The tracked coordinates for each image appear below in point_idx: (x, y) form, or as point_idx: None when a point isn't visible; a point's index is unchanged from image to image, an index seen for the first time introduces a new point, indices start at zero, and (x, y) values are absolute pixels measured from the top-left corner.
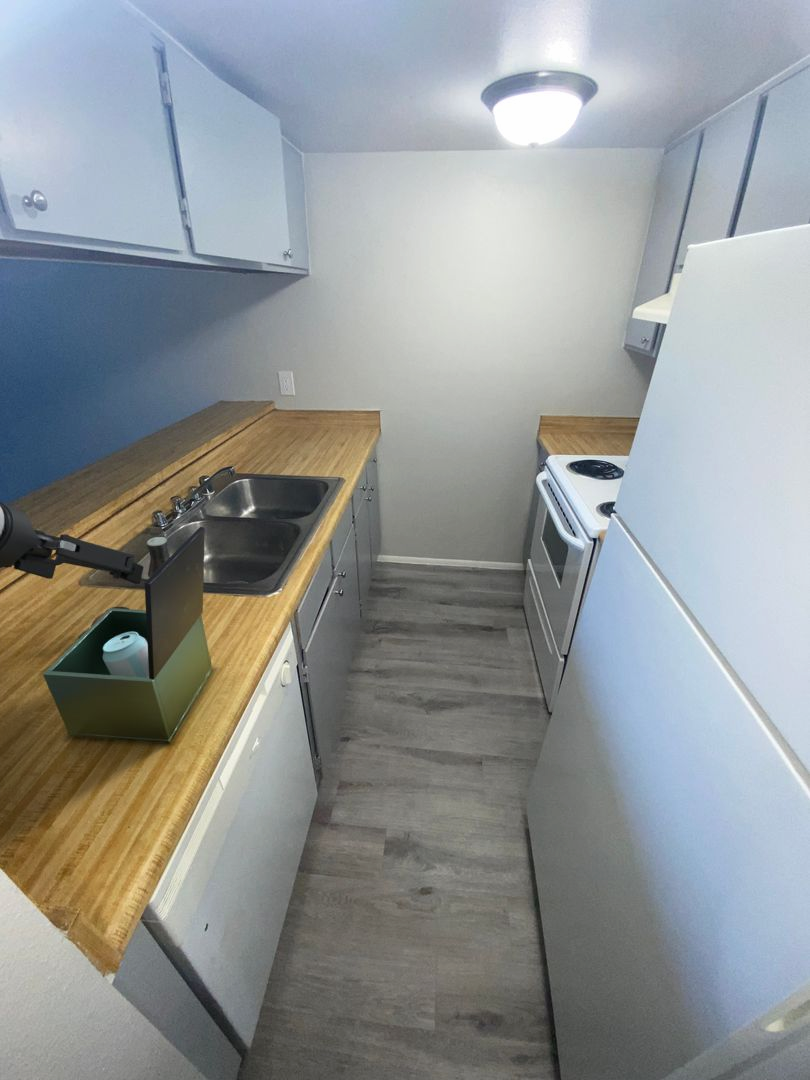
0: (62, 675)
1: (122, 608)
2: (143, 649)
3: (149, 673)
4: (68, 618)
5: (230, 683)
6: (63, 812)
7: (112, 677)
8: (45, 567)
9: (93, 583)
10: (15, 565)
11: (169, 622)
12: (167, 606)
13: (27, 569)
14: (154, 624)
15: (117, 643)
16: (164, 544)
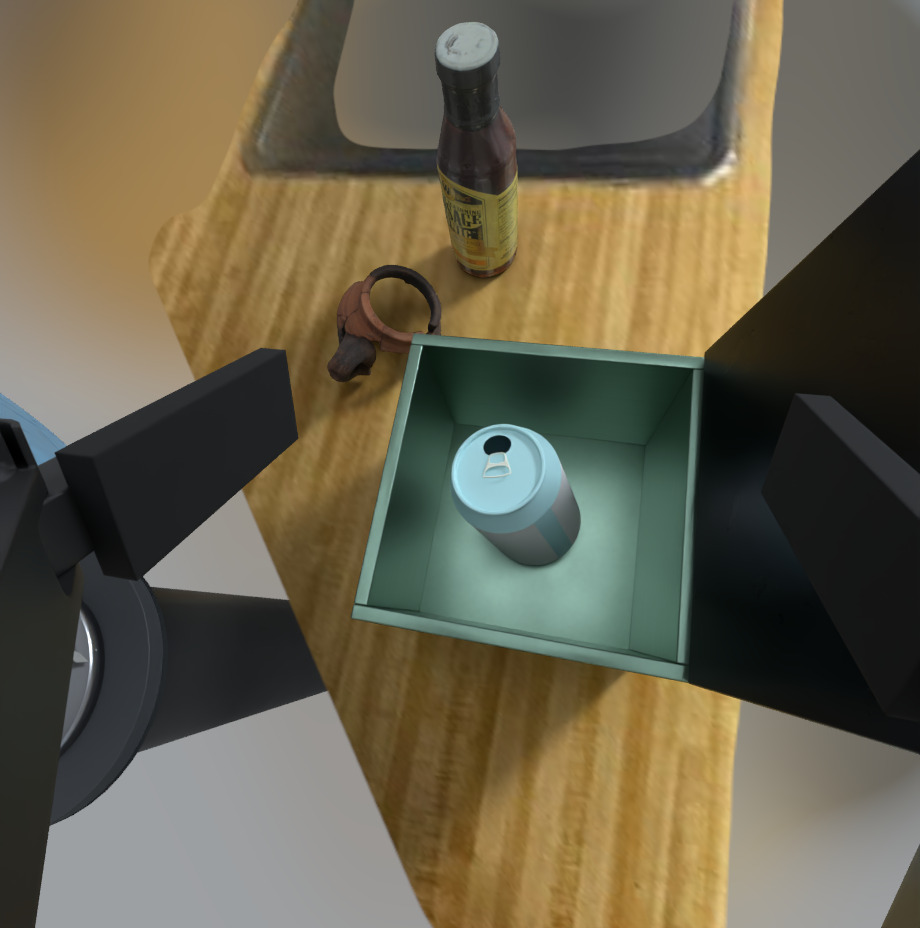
0: (407, 629)
1: (392, 271)
2: (561, 485)
3: (702, 687)
4: (266, 276)
5: None
6: (483, 823)
7: (557, 652)
8: (255, 424)
9: (273, 165)
10: (102, 558)
11: None
12: None
13: (185, 528)
14: None
15: (491, 477)
16: (495, 57)
